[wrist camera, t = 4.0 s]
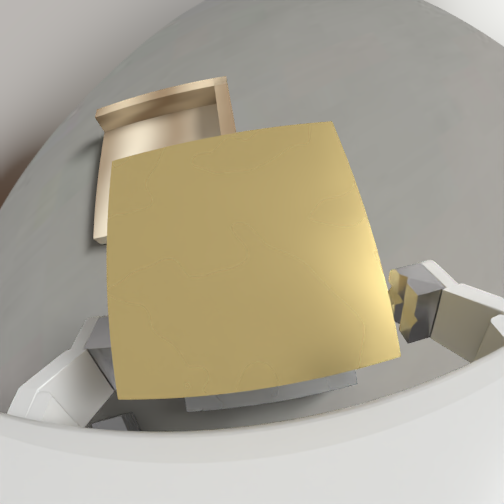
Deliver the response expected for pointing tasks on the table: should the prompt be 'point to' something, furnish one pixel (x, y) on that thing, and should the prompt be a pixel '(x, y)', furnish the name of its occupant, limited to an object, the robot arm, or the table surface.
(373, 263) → the yellow wooden block
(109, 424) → the gray rectangular bar
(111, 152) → the rack plate
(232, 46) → the table surface
